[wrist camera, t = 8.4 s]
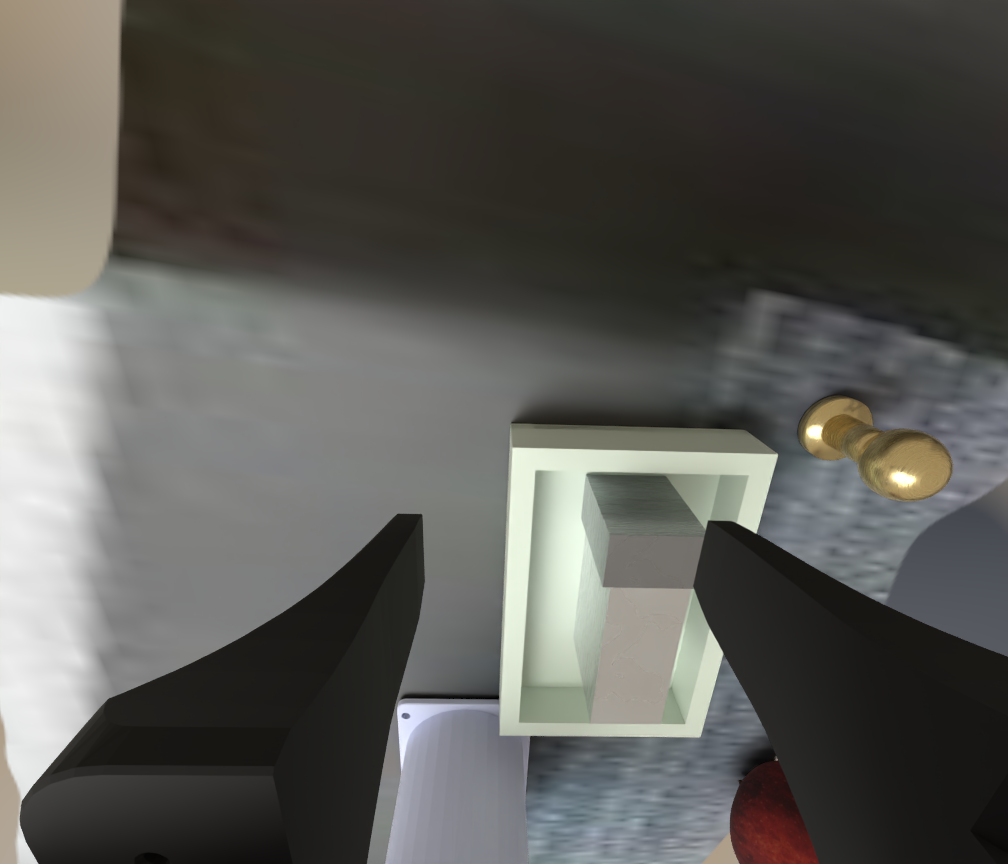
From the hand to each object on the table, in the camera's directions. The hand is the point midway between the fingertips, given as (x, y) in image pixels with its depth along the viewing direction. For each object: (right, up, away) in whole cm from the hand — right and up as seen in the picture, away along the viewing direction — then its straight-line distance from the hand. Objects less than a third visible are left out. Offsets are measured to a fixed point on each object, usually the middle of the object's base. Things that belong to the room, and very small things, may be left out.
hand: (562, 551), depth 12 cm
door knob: (+14, +3, +10) cm, 17 cm away
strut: (+4, -4, +12) cm, 13 cm away
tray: (+4, -5, +13) cm, 14 cm away
